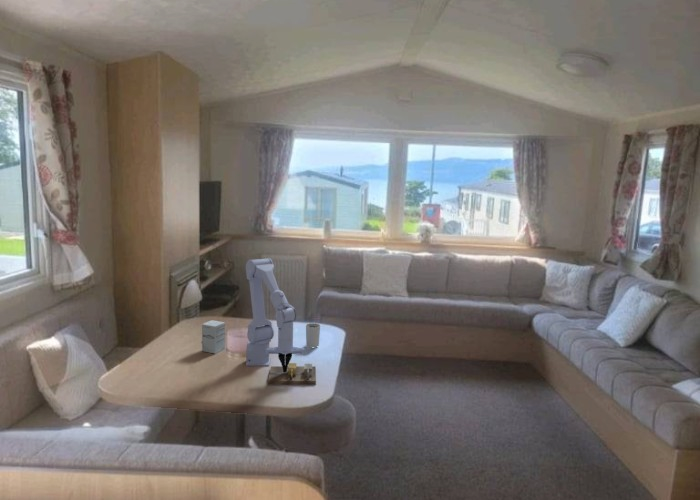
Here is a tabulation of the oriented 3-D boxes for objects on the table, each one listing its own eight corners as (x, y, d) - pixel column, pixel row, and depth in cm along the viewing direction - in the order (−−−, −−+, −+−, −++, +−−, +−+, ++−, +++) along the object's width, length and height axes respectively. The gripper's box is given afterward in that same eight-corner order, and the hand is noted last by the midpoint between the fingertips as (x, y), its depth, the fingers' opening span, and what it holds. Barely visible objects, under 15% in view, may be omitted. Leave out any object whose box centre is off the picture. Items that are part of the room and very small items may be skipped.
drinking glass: (317, 349, 221) (318, 328, 219) (303, 347, 222) (304, 326, 221) (321, 344, 227) (321, 323, 226) (307, 342, 229) (308, 322, 227)
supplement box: (201, 351, 213) (201, 323, 211) (212, 346, 220) (211, 319, 218) (215, 354, 210) (215, 326, 208) (225, 349, 217) (225, 321, 215)
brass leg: (287, 379, 183) (287, 371, 183) (288, 370, 192) (288, 363, 191) (295, 379, 184) (295, 371, 183) (296, 370, 192) (296, 363, 191)
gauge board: (268, 384, 182) (268, 373, 181) (270, 369, 196) (271, 359, 195) (315, 384, 183) (316, 373, 183) (315, 369, 197) (315, 359, 197)
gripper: (265, 341, 182) (265, 375, 184) (304, 341, 184) (303, 375, 186) (267, 335, 189) (267, 368, 191) (304, 335, 191) (303, 368, 193)
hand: (285, 371), depth 189 cm, fingers closed
